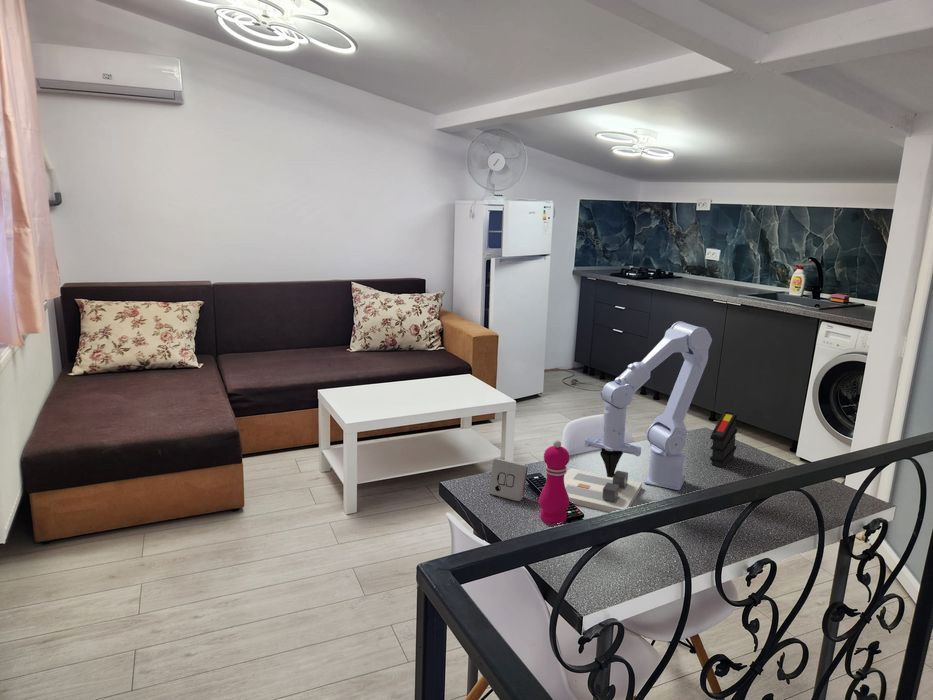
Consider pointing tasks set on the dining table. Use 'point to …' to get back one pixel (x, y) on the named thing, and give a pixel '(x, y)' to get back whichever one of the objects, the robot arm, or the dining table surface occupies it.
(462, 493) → the dining table surface
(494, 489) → the electrical switch
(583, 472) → the switch panel
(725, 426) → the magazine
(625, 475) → the dark grey block
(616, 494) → the tab
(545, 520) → the pepper mill
